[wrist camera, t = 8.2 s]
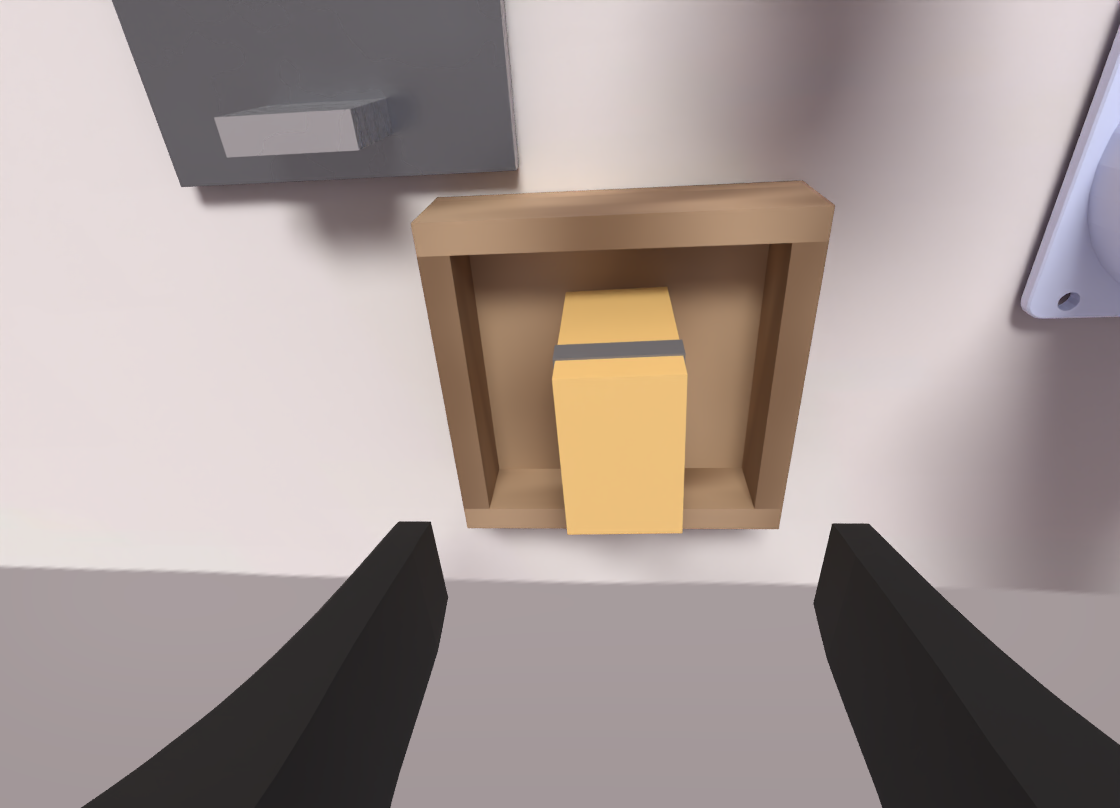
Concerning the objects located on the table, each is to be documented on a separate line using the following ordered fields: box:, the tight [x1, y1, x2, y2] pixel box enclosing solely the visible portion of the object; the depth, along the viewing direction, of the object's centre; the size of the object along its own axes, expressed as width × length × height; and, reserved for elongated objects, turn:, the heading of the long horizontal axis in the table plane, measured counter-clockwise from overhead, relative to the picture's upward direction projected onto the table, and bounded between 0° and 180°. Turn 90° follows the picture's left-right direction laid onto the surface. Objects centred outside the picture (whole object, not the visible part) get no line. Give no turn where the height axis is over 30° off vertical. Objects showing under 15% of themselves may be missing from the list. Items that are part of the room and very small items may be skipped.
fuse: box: [552, 287, 688, 535], centre depth 16 cm, size 3×4×5 cm, turn 5°
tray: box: [411, 181, 835, 529], centre depth 17 cm, size 10×10×3 cm
